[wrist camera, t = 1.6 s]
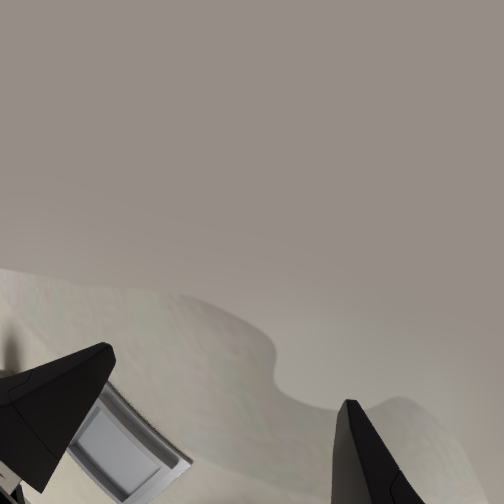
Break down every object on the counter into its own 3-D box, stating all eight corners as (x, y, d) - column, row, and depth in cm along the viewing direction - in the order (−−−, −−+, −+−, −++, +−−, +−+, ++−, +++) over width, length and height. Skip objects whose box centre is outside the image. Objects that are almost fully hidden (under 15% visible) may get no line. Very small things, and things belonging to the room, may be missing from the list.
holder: (135, 511, 18) (128, 518, 16) (64, 438, 21) (53, 441, 19) (192, 463, 20) (185, 471, 18) (105, 380, 23) (93, 381, 21)
